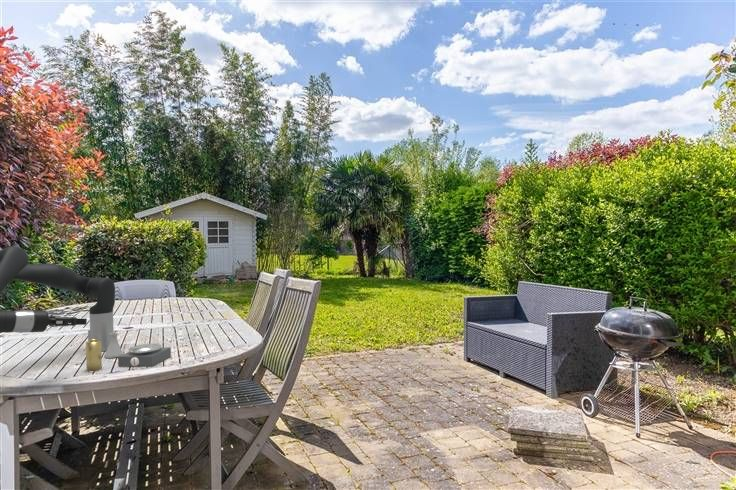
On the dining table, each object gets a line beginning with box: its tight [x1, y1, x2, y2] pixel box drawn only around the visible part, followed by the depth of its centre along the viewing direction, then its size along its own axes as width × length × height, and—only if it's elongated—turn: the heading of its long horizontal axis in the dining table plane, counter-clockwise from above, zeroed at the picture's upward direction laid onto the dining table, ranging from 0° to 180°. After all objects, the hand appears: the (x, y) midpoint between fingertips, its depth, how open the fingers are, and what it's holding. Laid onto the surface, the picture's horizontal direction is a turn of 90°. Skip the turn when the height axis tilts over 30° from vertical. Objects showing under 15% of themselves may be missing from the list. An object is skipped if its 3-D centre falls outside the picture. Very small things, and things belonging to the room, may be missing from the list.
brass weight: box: [85, 338, 103, 372], centre depth 166 cm, size 5×5×12 cm
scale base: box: [117, 346, 172, 368], centre depth 176 cm, size 14×14×4 cm
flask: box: [103, 332, 124, 359], centre depth 185 cm, size 7×7×10 cm
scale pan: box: [128, 343, 162, 354], centre depth 176 cm, size 12×12×1 cm
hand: (81, 320), depth 160 cm, fingers open, 8 cm apart
